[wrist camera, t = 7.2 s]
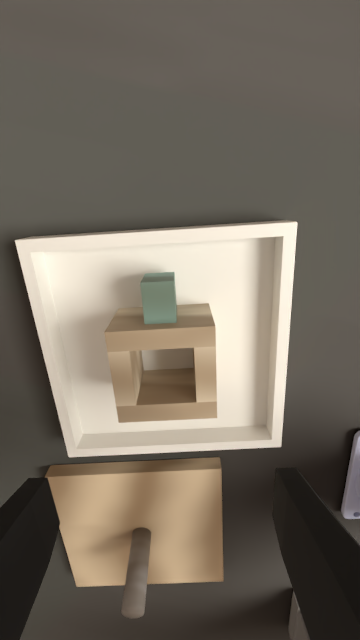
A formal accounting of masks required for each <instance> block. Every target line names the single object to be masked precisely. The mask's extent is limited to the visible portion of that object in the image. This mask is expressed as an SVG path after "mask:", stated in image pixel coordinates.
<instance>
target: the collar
mask: <svg viewBox="0 0 360 640" xmlns="http://www.w3.org/2000/svg"><path fill="white" fill-rule="evenodd" d="M140 286H141V295H142V305H143V307H134V308H119V309H118V310H117V312H116V314H115V315H114V317H113V319H112V320H111V322H110V323H109V325H108V327H107V328H106V330H105V332H104V334H105V341H106V347H107V353H108V359H109V366H110V372H111V378H112V384H113V390H114V397H115V403H116V409H117V415H118V422H119V423H126V422H146V421H167V420H188V419H208V418H217V380H216V327H215V323H214V320H213V316H212V313H211V309H210V306H209V303H205V304H188V305H177V303H176V288H175V273H174V272H163V273H146V274H145V275H144V276H143V278H142V280H141V282H140ZM178 348H193V364H194V368H182V369H163V370H144V367H143V359H142V350H159V349H178Z"/></svg>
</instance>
